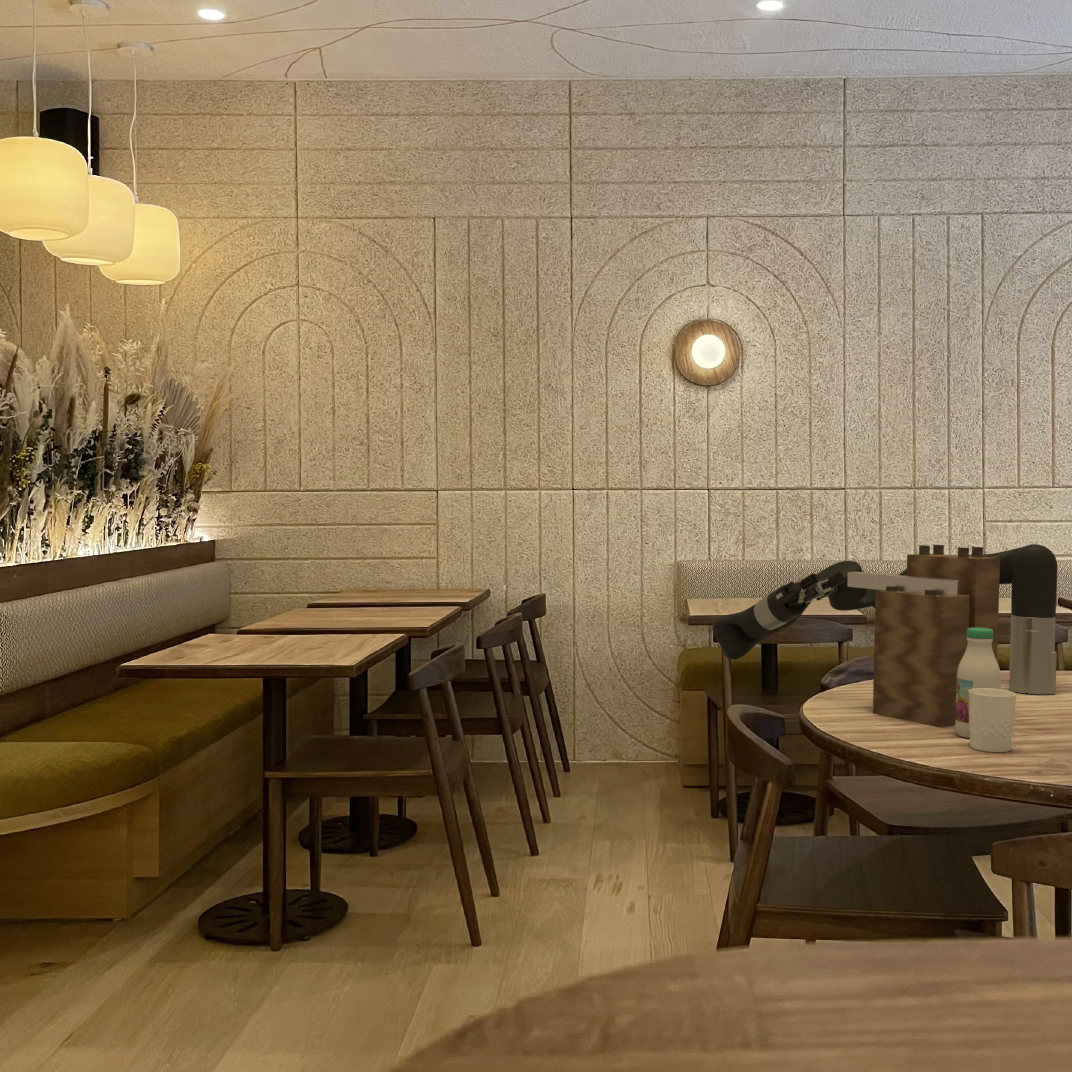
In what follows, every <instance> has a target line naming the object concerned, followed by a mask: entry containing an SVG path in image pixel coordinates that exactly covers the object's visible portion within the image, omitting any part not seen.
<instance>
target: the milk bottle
mask: <svg viewBox="0 0 1072 1072" xmlns="http://www.w3.org/2000/svg"><path fill="white" fill-rule="evenodd" d="M967 640H968V645H967V648H966V651H965V654H964V656H963V658H962V659H961V661H960V664H959V667H958V671H957V682H956V713H955V725H954V730H955V731H954V732H955V734H956V735H957V736H959V737H961V738H967V739H970V731H969V705H968V690H970V689H976V688H990V689H1001V690H1002V685H1001V684H1002V683H1001V678H1002V677H1001V670H1000V666H999V663H998V660H997V661H996V658H995V656H994V653H993V650H992V641H993V630H992V629H989V628H968V629H967Z"/></svg>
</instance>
